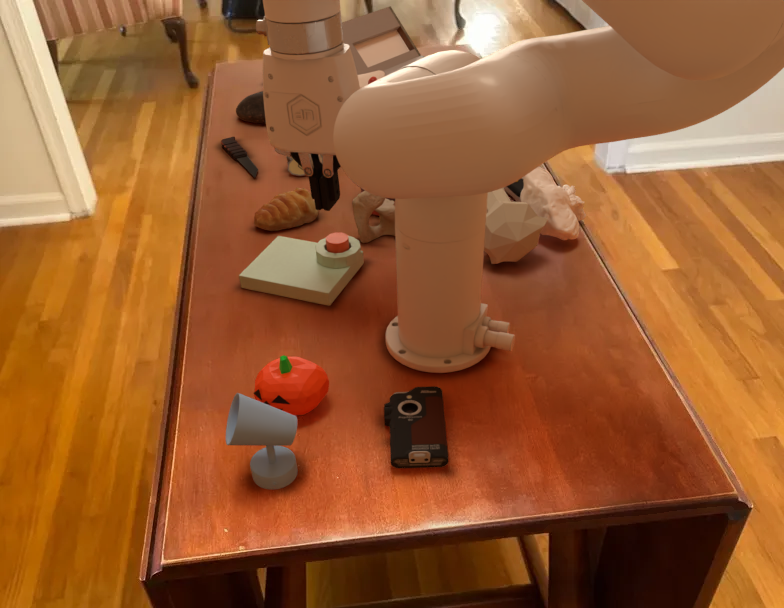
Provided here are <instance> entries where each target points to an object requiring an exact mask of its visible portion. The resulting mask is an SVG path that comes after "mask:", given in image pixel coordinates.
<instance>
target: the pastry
mask: <svg viewBox="0 0 784 608" xmlns="http://www.w3.org/2000/svg"><path fill="white" fill-rule="evenodd" d="M319 214H320V210H316V208H315V201H314V199H312V196H311V191H310V190H308V189H306V188H305V187H301V188H300V187H296V188H295V189H294V190H292V191H291V190H290V191H285V192H283V193H278V194H276V195H274V197H273V198H272V199H271V200H269V201H268V202H267V203H264V204H263V205H262V206H261V207H260V208H258V209H257V210H256V211H255V212H254V217H253V224H254V226H256V227H257V228H259V229H261V230H265V231H270V232H273V231H275V232H279V231H280V230H288V229H291V228H297V227H299V226H302V225H304V224H309V223H312V222H314V221H315V220H316V219H317V218H318V216H319Z"/></svg>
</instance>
